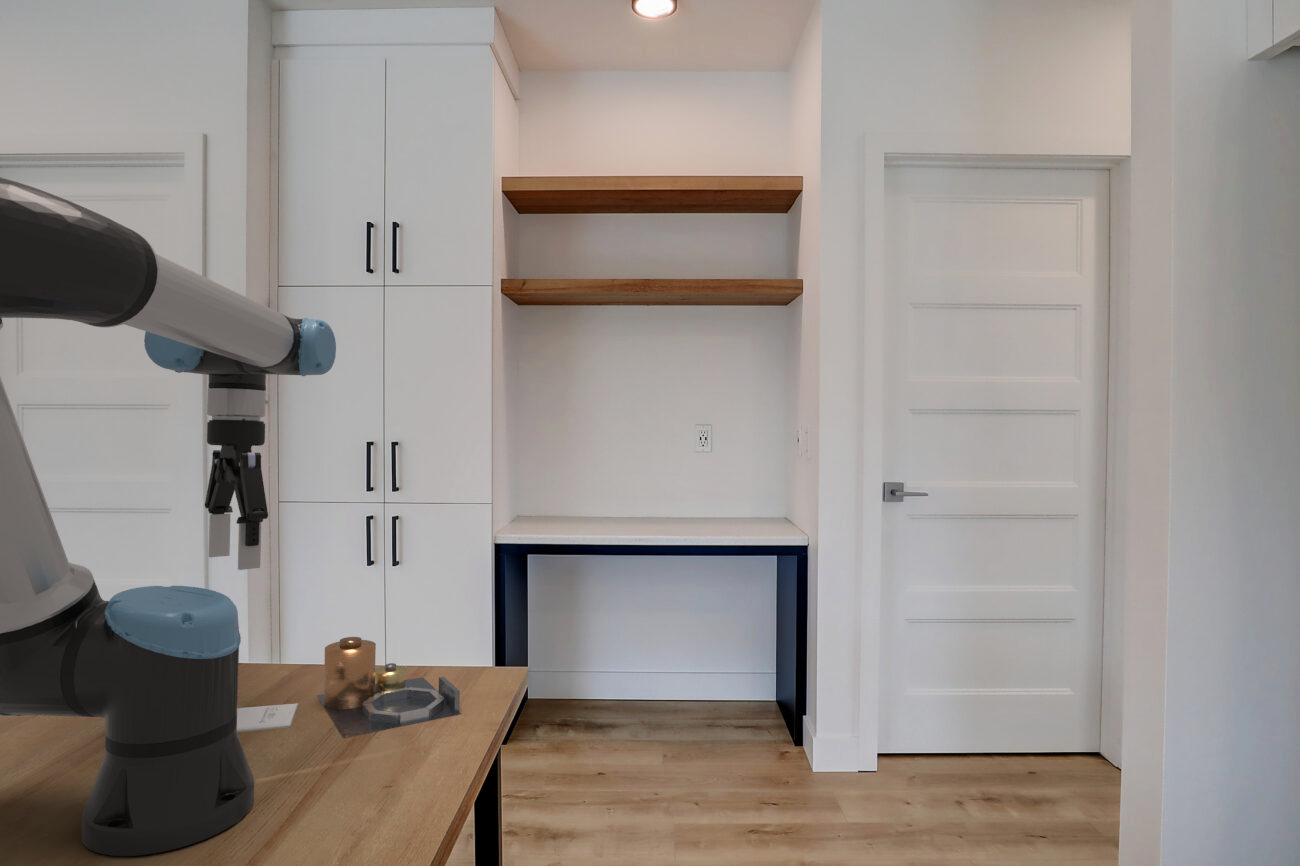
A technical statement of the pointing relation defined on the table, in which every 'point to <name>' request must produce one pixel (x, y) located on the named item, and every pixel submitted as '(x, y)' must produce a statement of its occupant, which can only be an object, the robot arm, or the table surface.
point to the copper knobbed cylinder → (349, 673)
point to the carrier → (396, 704)
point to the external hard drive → (265, 717)
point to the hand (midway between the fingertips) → (233, 562)
